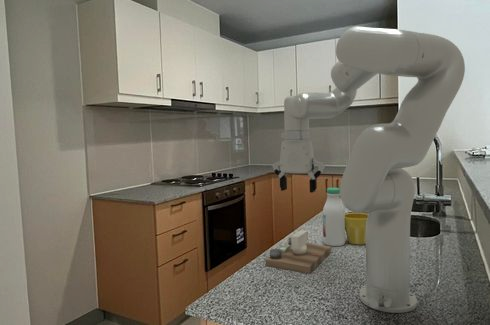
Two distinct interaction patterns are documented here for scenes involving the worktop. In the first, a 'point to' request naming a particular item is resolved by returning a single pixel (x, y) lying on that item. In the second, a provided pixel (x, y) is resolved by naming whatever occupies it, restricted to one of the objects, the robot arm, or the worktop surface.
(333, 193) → the milk bottle
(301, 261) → the brown lever switch panel
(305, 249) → the wing knob
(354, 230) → the plant pot
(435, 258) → the worktop surface
